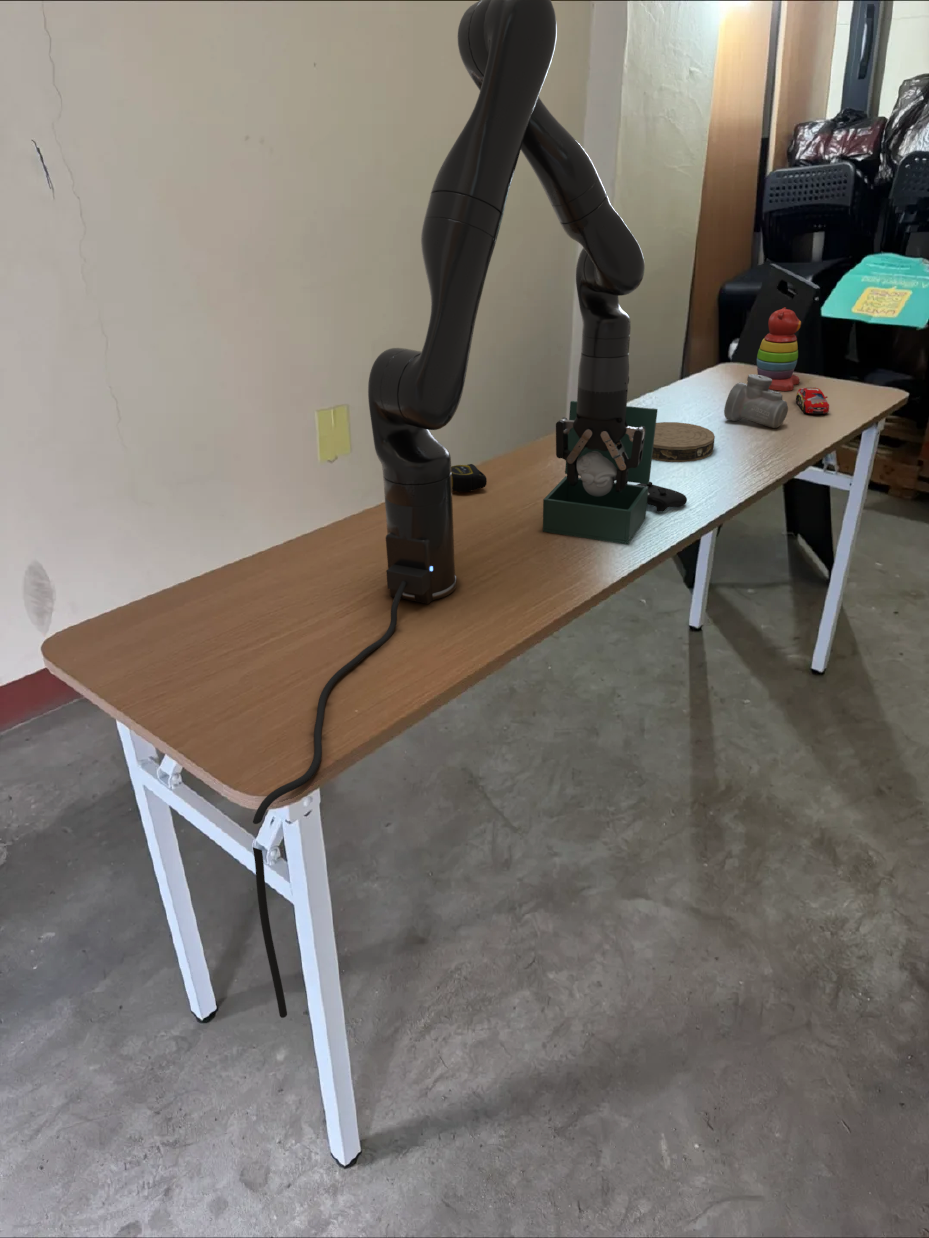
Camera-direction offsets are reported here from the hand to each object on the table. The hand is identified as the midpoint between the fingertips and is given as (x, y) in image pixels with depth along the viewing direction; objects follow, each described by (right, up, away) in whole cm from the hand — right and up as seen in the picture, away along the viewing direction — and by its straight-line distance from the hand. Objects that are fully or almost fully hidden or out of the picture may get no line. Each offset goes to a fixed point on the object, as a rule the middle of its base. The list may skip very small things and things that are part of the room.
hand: (596, 487), depth 138 cm
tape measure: (-21, +3, +20) cm, 29 cm away
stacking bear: (+55, +37, +75) cm, 100 cm away
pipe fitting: (+41, +21, +48) cm, 67 cm away
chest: (0, -6, +4) cm, 7 cm away
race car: (+57, +26, +57) cm, 85 cm away
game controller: (+11, -1, +11) cm, 16 cm away
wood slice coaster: (+21, +13, +36) cm, 43 cm away
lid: (+2, +8, +2) cm, 8 cm away
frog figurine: (0, -1, +1) cm, 1 cm away
